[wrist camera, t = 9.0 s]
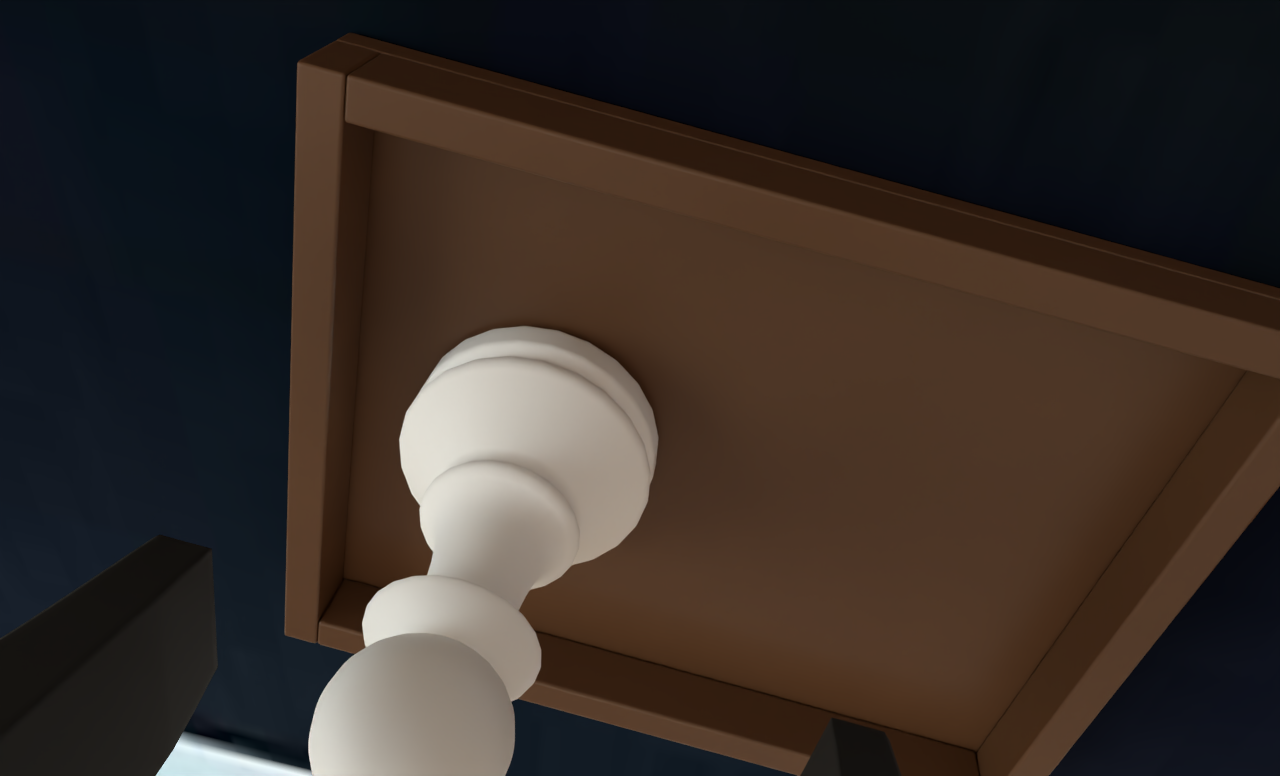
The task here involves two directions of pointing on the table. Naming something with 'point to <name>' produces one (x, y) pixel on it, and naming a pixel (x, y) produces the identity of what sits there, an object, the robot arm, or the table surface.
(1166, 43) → the table surface
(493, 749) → the chess pawn
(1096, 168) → the table surface
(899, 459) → the tray
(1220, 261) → the table surface
